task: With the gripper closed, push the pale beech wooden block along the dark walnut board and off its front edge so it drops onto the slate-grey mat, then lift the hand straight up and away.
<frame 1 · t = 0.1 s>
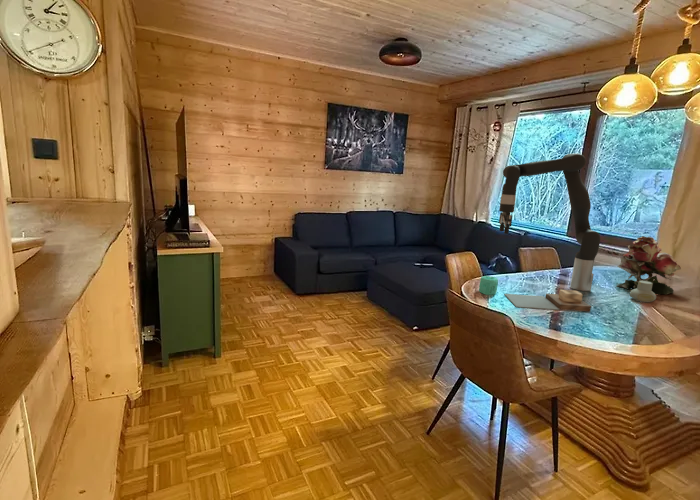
hand: (503, 232, 216), 29 cm above the table, tool pointing down, fingers open, 8 cm apart
walnut board: (566, 304, 191), on the table
green cylinder: (487, 293, 205), on the table
beech block: (569, 299, 191), point 2 cm above the table, touching walnut board
slate mat: (530, 302, 193), on the table
air freshener: (641, 301, 203), on the table
rose bouquet: (639, 288, 226), on the table
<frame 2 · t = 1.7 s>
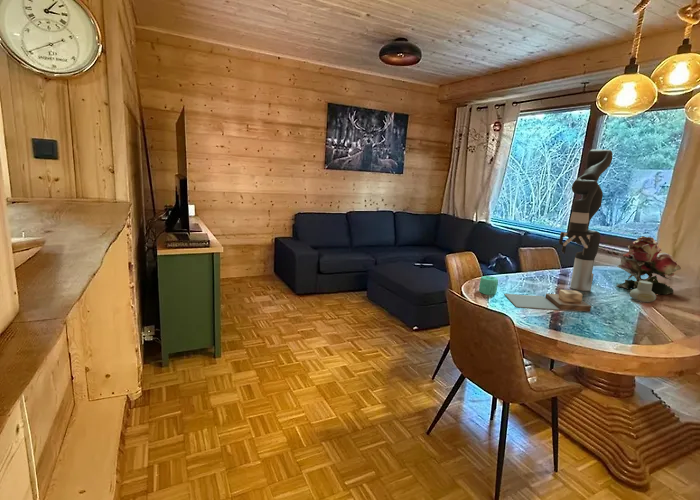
hand: (573, 254, 193), 24 cm above the table, tool pointing down, fingers open, 8 cm apart
nothing on the table moved.
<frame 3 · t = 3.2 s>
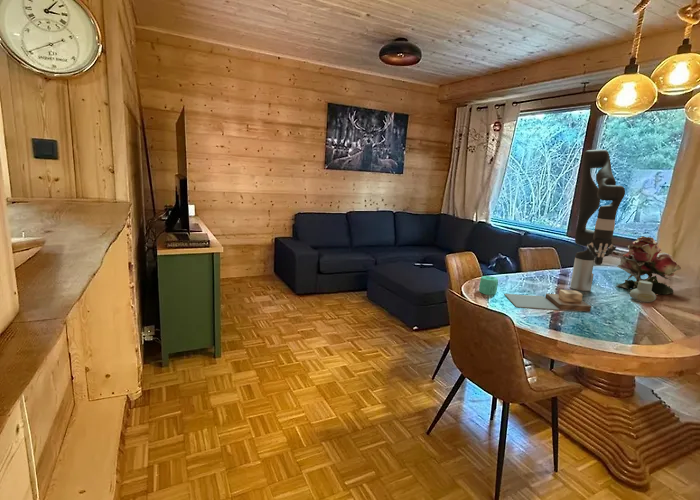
hand: (597, 264, 186), 21 cm above the table, tool pointing down, fingers closed
nothing on the table moved.
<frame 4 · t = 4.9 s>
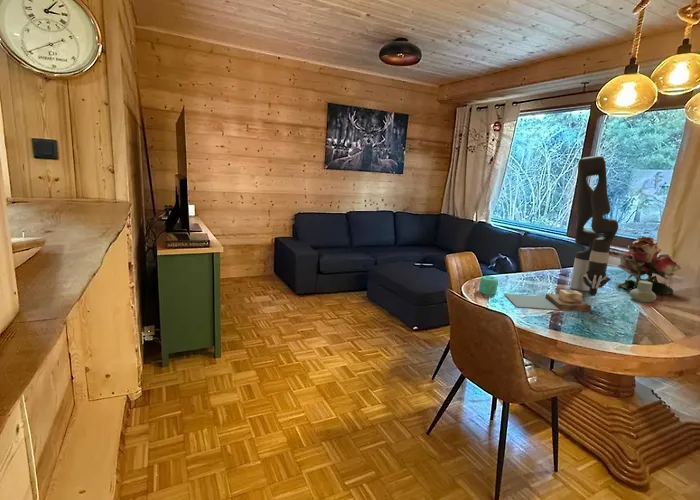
hand: (592, 295, 189), 6 cm above the table, tool pointing down, fingers closed
nothing on the table moved.
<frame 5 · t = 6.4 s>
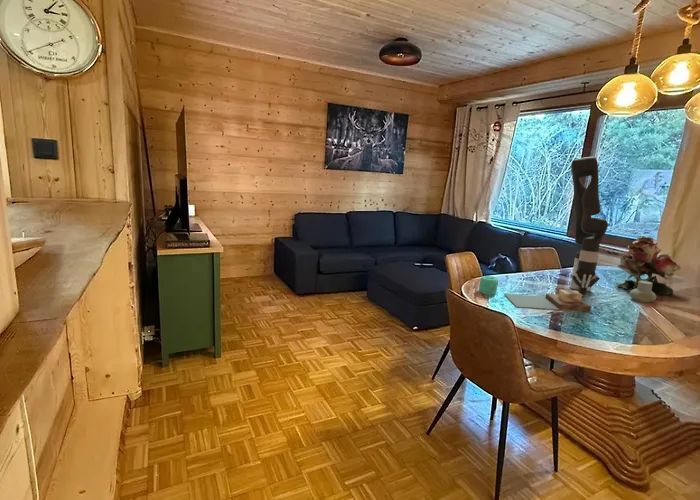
hand: (581, 294, 190), 6 cm above the table, tool pointing down, fingers closed
beech block: (569, 299, 191), point 3 cm above the table, touching gripper
everything else where it was.
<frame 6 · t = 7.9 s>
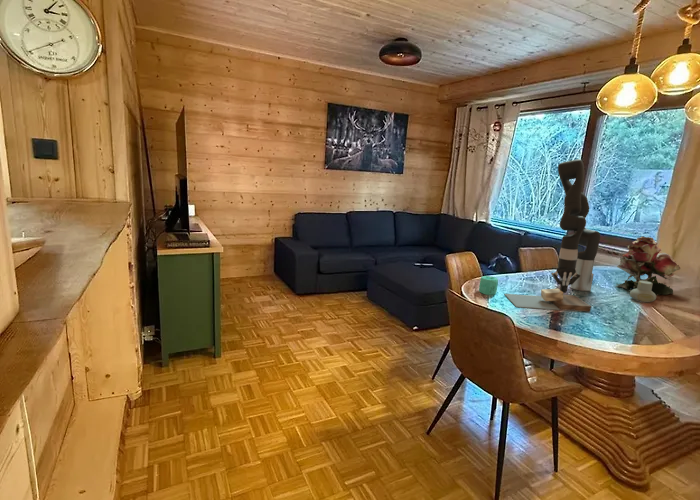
hand: (563, 292, 190), 6 cm above the table, tool pointing down, fingers closed
beech block: (552, 298, 191), point 2 cm above the table, tilted 9°, touching gripper, walnut board
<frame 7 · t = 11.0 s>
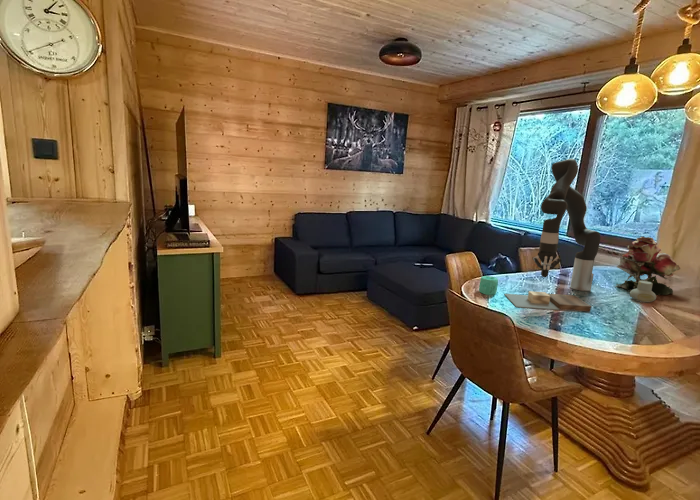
hand: (544, 276, 189), 13 cm above the table, tool pointing down, fingers closed
beech block: (538, 301, 193), resting on slate mat
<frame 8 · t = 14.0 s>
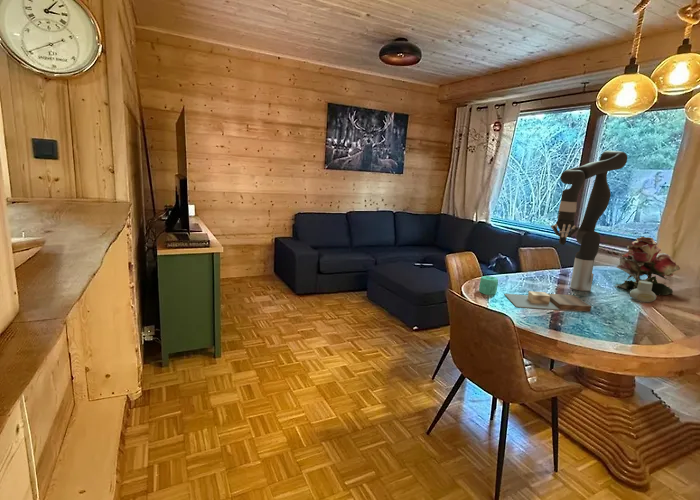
hand: (561, 244, 200), 27 cm above the table, tool pointing down, fingers closed
at the end: beech block inside the target area (3.5 cm from its centre), point 0.5 cm above the table; beech block touching slate mat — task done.
